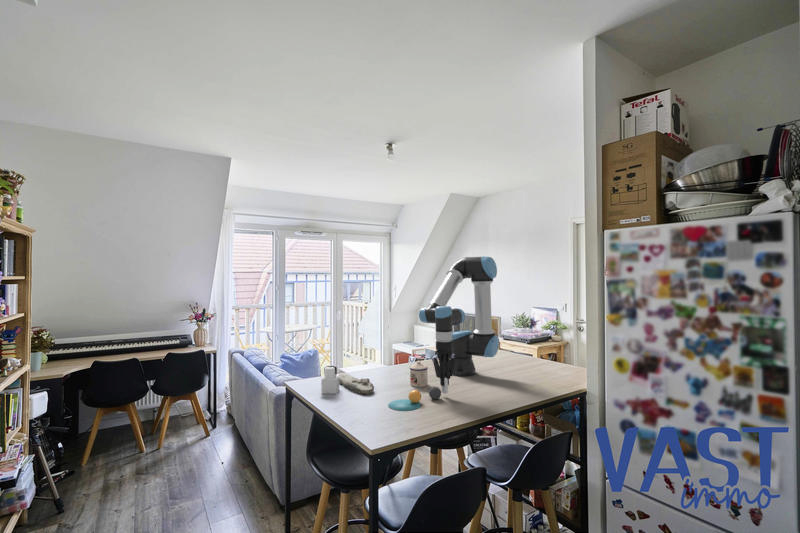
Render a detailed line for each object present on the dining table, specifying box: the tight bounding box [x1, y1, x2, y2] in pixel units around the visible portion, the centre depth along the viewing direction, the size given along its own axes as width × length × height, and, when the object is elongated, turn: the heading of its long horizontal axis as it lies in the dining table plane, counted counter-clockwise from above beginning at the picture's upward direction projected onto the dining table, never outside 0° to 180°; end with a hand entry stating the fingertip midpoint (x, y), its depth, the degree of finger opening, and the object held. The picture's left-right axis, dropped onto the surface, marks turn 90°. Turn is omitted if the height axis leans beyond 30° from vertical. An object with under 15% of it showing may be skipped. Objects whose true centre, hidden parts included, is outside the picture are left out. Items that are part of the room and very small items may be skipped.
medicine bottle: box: [321, 365, 340, 395], centre depth 186 cm, size 7×7×12 cm
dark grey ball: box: [428, 386, 442, 401], centre depth 172 cm, size 6×6×6 cm
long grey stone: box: [338, 373, 375, 395], centre depth 194 cm, size 35×5×10 cm
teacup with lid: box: [409, 360, 429, 388], centre depth 194 cm, size 12×9×12 cm
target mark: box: [387, 398, 422, 412], centre depth 165 cm, size 14×14×1 cm
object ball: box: [408, 389, 422, 403], centre depth 168 cm, size 6×6×6 cm
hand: (444, 392), depth 175 cm, fingers closed
